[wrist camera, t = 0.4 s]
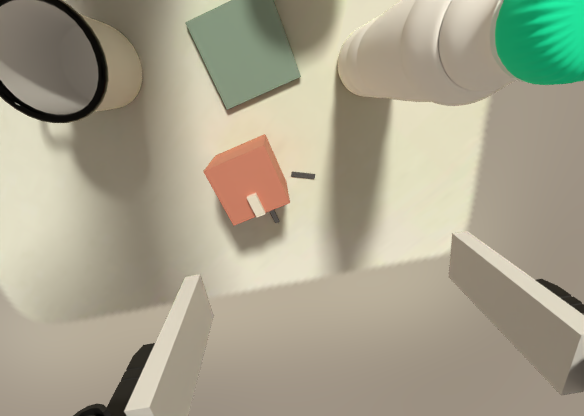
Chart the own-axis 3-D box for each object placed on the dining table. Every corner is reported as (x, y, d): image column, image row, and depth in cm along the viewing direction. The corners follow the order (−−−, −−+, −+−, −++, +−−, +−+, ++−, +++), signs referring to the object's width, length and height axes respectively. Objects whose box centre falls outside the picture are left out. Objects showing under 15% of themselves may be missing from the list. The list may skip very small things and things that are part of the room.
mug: (133, 10, 29) (77, -22, 20) (159, 109, 32) (121, 117, 24) (10, 21, 28) (-98, -6, 20) (51, 120, 32) (-26, 132, 24)
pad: (186, 23, 29) (185, 22, 29) (267, -16, 29) (267, -17, 28) (227, 109, 33) (227, 109, 32) (300, 76, 32) (300, 76, 31)
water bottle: (362, 109, 34) (557, 158, 11) (323, 61, 32) (465, -4, 9) (410, 63, 32) (756, 7, 9) (372, 9, 30) (709, -241, 7)
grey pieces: (234, 162, 35) (230, 171, 32) (299, 135, 35) (303, 140, 31) (266, 226, 39) (266, 241, 35) (326, 202, 38) (332, 214, 35)
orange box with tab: (215, 155, 35) (201, 173, 28) (265, 134, 34) (264, 146, 27) (239, 201, 37) (232, 228, 30) (286, 182, 37) (290, 204, 30)
